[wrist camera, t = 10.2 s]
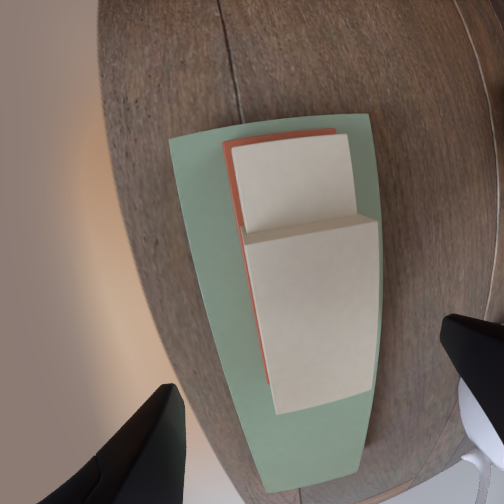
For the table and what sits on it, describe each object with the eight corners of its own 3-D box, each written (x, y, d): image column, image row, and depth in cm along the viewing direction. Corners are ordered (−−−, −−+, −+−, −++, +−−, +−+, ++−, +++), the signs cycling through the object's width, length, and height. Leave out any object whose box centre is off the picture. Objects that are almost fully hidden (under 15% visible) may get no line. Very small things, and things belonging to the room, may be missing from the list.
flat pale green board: (350, 454, 27) (357, 471, 24) (264, 474, 27) (267, 493, 24) (348, 120, 16) (368, 113, 14) (178, 143, 16) (168, 138, 13)
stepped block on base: (344, 352, 18) (372, 400, 13) (264, 370, 18) (275, 426, 13) (326, 131, 14) (369, 116, 9) (222, 144, 14) (218, 131, 9)
